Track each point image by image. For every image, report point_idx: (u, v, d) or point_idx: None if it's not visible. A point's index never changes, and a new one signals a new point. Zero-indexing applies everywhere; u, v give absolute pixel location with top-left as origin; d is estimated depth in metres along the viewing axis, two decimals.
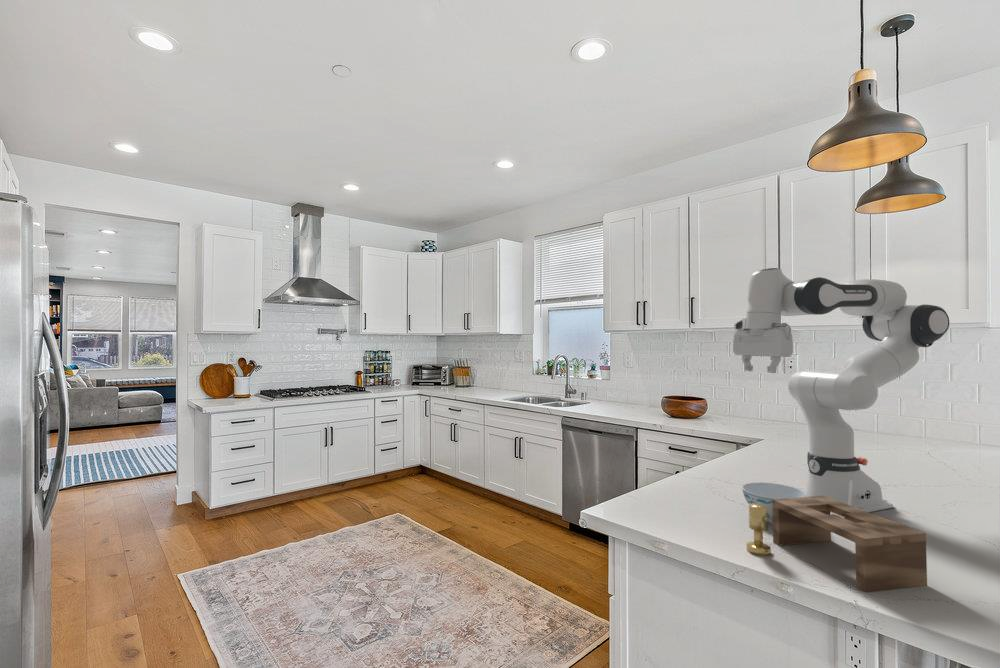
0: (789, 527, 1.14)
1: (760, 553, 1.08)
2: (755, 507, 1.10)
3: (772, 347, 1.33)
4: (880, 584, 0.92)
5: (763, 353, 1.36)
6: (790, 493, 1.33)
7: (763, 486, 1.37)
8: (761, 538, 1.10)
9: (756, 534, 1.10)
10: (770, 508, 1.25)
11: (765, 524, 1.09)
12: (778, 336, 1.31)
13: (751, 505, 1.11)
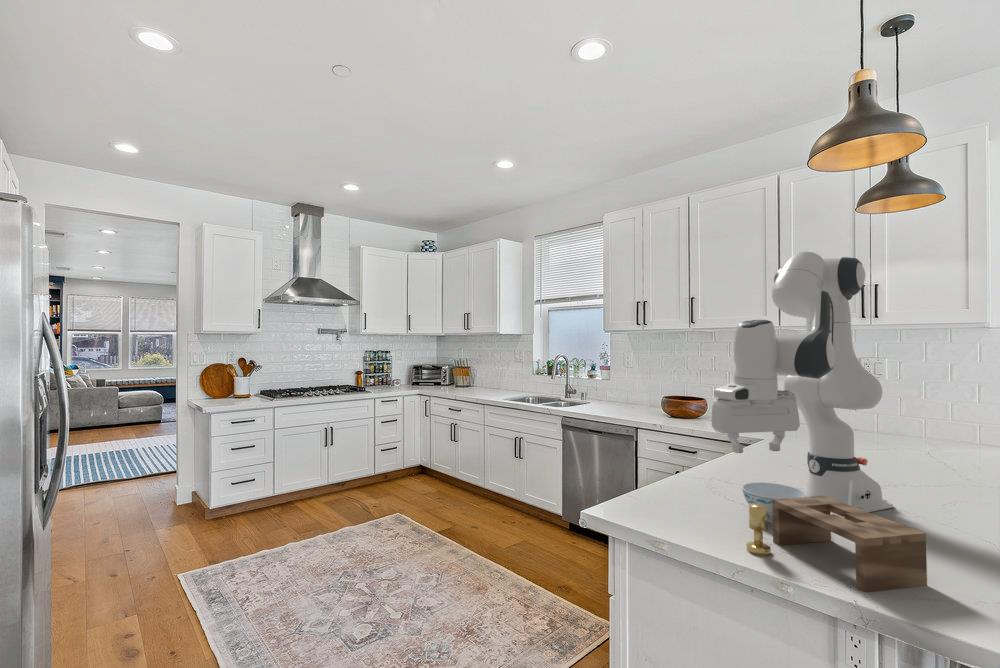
0: (789, 527, 1.14)
1: (760, 553, 1.08)
2: (755, 507, 1.10)
3: (787, 421, 1.10)
4: (880, 584, 0.92)
5: (774, 429, 1.10)
6: (790, 493, 1.33)
7: (763, 486, 1.37)
8: (761, 538, 1.10)
9: (756, 534, 1.10)
10: (770, 508, 1.25)
11: (765, 524, 1.09)
12: (795, 407, 1.11)
13: (751, 505, 1.11)
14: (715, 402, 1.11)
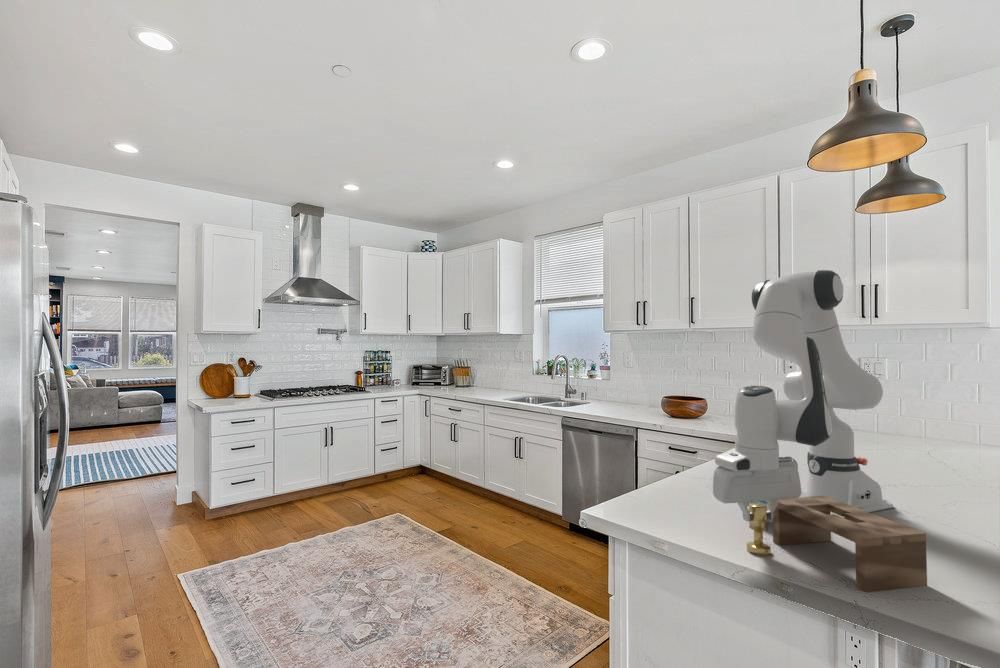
0: (789, 527, 1.14)
1: (760, 553, 1.08)
2: (755, 507, 1.10)
3: (788, 489, 1.10)
4: (880, 584, 0.92)
5: (775, 497, 1.09)
6: None
7: None
8: (761, 538, 1.10)
9: (756, 534, 1.10)
10: None
11: (765, 524, 1.09)
12: (796, 475, 1.10)
13: (751, 505, 1.11)
14: (716, 470, 1.11)
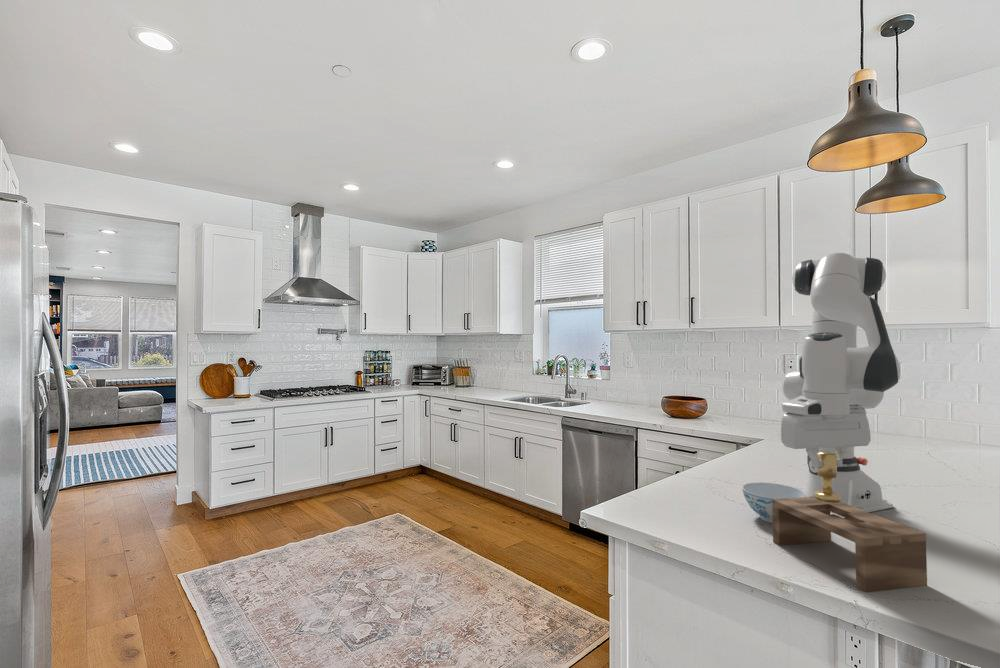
0: (789, 527, 1.14)
1: (831, 500, 1.06)
2: (824, 454, 1.08)
3: (858, 436, 1.08)
4: (880, 584, 0.92)
5: (845, 444, 1.08)
6: (790, 493, 1.33)
7: (763, 486, 1.37)
8: (831, 485, 1.08)
9: (825, 481, 1.08)
10: (770, 508, 1.25)
11: (835, 471, 1.07)
12: (866, 422, 1.09)
13: (820, 452, 1.09)
14: (784, 416, 1.09)
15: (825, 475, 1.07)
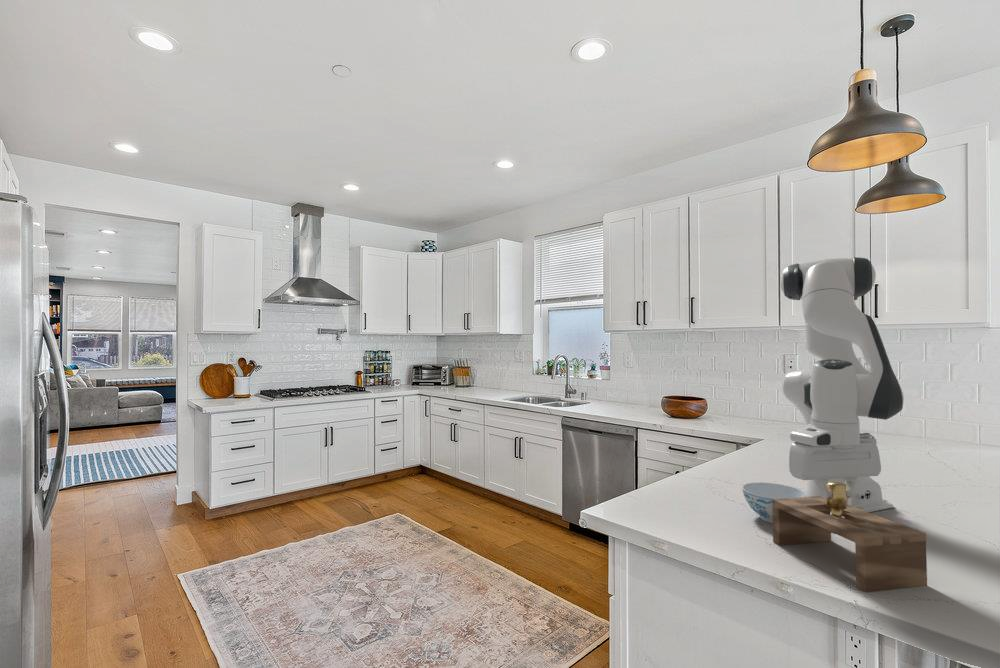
0: (789, 527, 1.14)
1: None
2: (833, 484, 1.05)
3: (868, 466, 1.06)
4: (880, 584, 0.92)
5: (855, 475, 1.05)
6: (790, 493, 1.33)
7: (763, 486, 1.37)
8: None
9: (835, 512, 1.06)
10: (770, 508, 1.25)
11: (845, 502, 1.05)
12: (876, 451, 1.06)
13: (829, 483, 1.07)
14: (793, 446, 1.07)
15: (834, 506, 1.05)
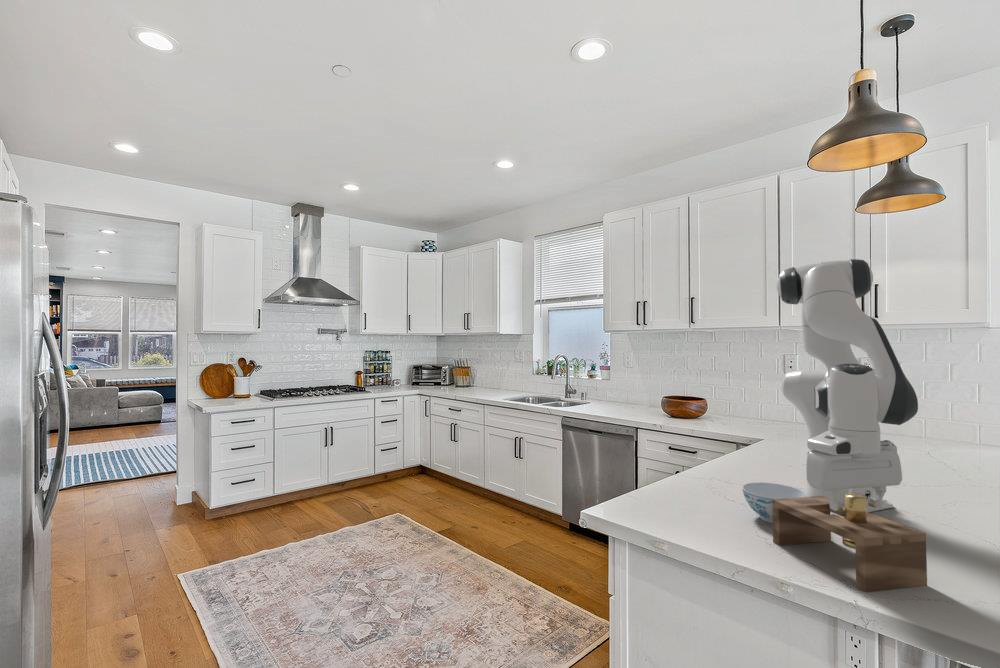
0: (789, 527, 1.14)
1: None
2: (853, 497, 1.01)
3: (889, 475, 1.01)
4: (880, 584, 0.92)
5: (876, 484, 1.01)
6: (790, 493, 1.33)
7: (763, 486, 1.37)
8: None
9: None
10: (770, 508, 1.25)
11: (865, 516, 1.00)
12: (897, 460, 1.02)
13: (848, 495, 1.02)
14: (810, 454, 1.02)
15: (854, 520, 1.00)
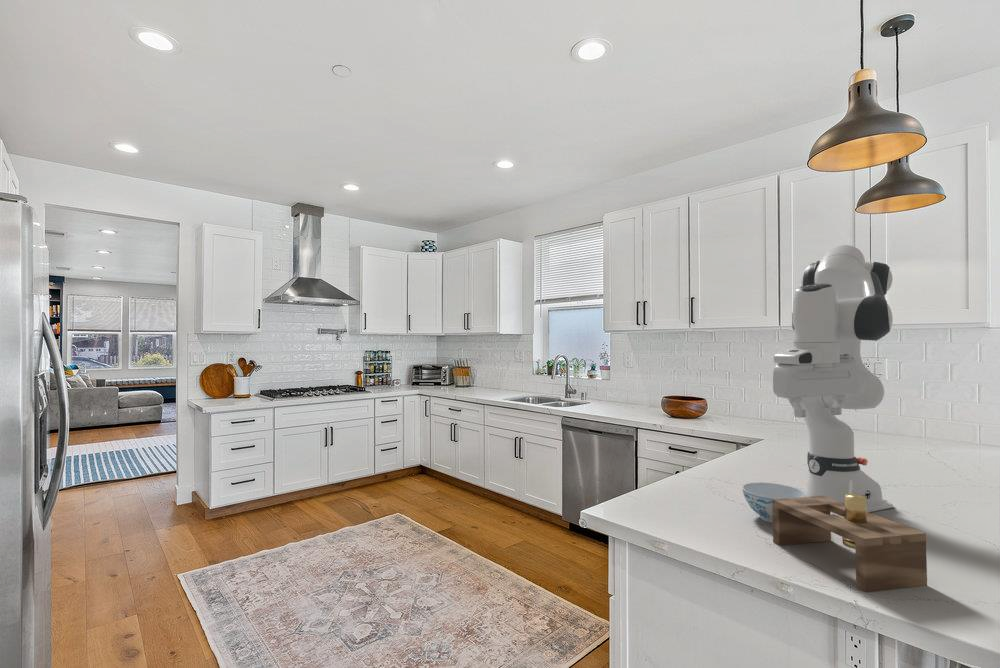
0: (789, 527, 1.14)
1: None
2: (853, 497, 1.01)
3: (848, 384, 1.10)
4: (880, 584, 0.92)
5: (836, 393, 1.09)
6: (790, 493, 1.33)
7: (763, 486, 1.37)
8: None
9: None
10: (770, 508, 1.25)
11: (865, 516, 1.00)
12: (855, 370, 1.11)
13: (848, 495, 1.02)
14: (776, 367, 1.10)
15: (854, 520, 1.00)
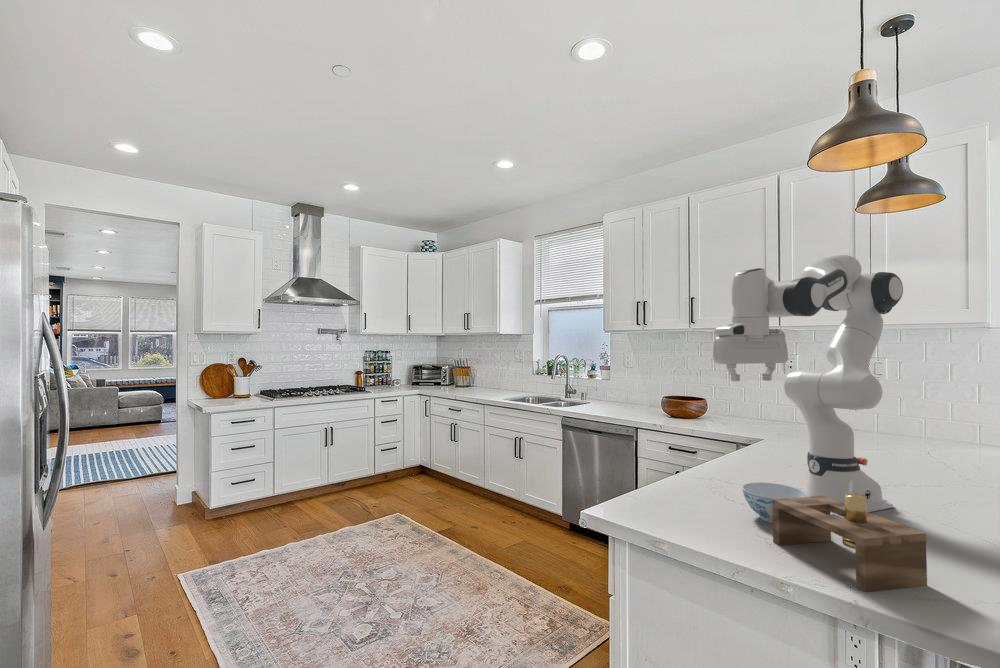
0: (789, 527, 1.14)
1: None
2: (853, 497, 1.01)
3: (777, 354, 1.29)
4: (880, 584, 0.92)
5: (766, 361, 1.29)
6: (790, 493, 1.33)
7: (763, 486, 1.37)
8: None
9: None
10: (770, 508, 1.25)
11: (865, 516, 1.00)
12: (784, 343, 1.30)
13: (848, 495, 1.02)
14: (716, 339, 1.30)
15: (854, 520, 1.00)
